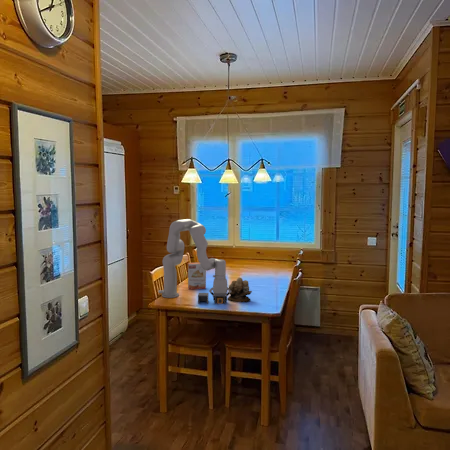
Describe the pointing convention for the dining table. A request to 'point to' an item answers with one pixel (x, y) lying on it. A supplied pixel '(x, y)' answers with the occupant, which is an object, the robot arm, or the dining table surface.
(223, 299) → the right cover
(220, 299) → the letter cube
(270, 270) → the dining table surface
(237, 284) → the brown stone statue
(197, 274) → the cracker box
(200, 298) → the left cover
